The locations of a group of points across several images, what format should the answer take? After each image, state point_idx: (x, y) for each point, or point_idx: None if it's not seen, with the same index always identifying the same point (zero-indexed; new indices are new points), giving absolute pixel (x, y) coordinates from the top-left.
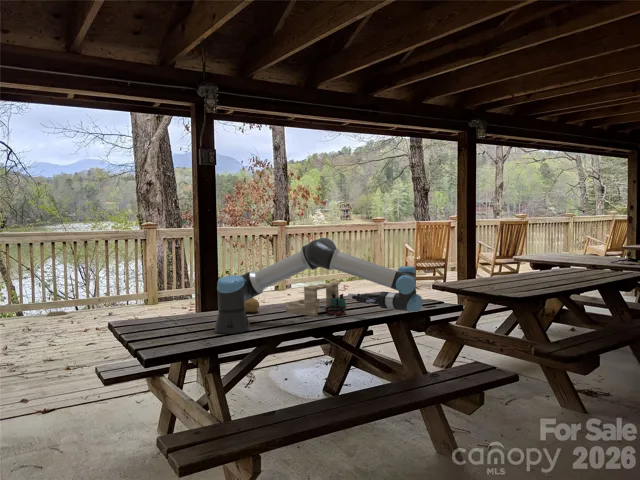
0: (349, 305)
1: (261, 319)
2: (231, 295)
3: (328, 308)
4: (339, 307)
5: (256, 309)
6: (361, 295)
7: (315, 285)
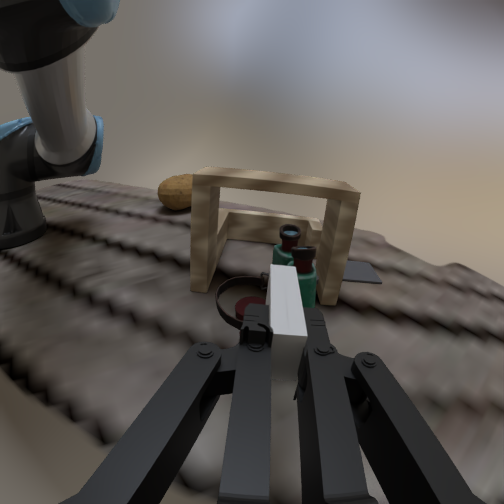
0: (417, 291)
1: (113, 232)
2: None
3: (255, 284)
4: None
5: (172, 205)
6: (261, 371)
7: (259, 172)
